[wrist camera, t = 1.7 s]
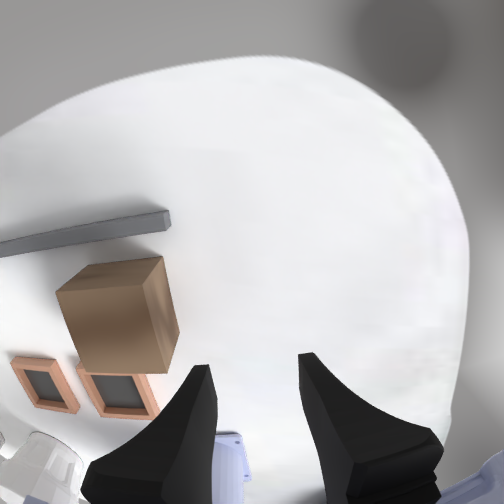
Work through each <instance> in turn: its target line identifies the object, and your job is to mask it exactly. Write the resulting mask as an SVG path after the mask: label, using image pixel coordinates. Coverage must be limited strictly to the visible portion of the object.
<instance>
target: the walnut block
mask: <svg viewBox="0 0 504 504" xmlns="http://www.w3.org/2000/svg"><path fill="white" fill-rule="evenodd" d="M56 296H57V299H58V302H59V305H60V308H61V311H62V313H63V316H64V319H65V322H66V325H67V327H68V330H69V333H70V335H71V338H72V340H73V343H74V345H75V348H76V350H77V352H78V355H79V357H80V359H81V362H82V364H83V366H84V369H85V371H86V372H91V373H119V374H163V373H168V369H169V366H170V363H171V359H172V356H173V353H174V350H175V346H176V343H177V340H178V337H179V333H180V332H179V328H178V323H177V319H176V315H175V311H174V306H173V302H172V298H171V293H170V288H169V284H168V279H167V274H166V269H165V264H164V259H163V256H162V257H153V258H145V259H136V260H127V261H119V262H110V263H102V264H93V265H88V266H86V267H85V268H84V269H83V270H81V271H80V272H79V273H78V274H76V275H75V276H74V277H73V278H71V279H70V280H69V281H68V282H67V283H65V284H64V285H63V286H62V287H61V288H59V289H58V290H57V291H56Z"/></svg>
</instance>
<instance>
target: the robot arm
mask: <svg viewBox="0 0 504 504" xmlns="http://www.w3.org/2000/svg"><path fill="white" fill-rule="evenodd" d="M298 364H299V390H300V395H301V400H302V405H303V410H304V413H305V416H306V419H307V422H308V425H309V428H310V431H311V434H312V437H313V440H314V443H315V446H316V449H317V452H318V456H319V460H320V465H321V470H322V475H323V480H324V485H325V491H326V496H327V502H328V504H504V449H503V450H502V451H500V452H499V453H497V454H495V455H494V456H492V457H491V458H489V459H488V460H487V461H486V462H485V463H484V464H483V466H482V467H481V468H480V470H479V471H478V472H477V473H475V474H473V475H471V476H470V477H468V478H466V479H464V480H462V481H460V482H458V483H456V484H454V485H452V486H450V487H448V488H446V489H444V490H442V491H439V489H438V487H437V485H436V484H435V481H436V480H437V477H436V475H435V473H434V469H435V468H436V466H437V464H438V463H439V461H440V459H441V457H442V455H443V452H444V448H443V446H442V444H441V442H440V441H439V439H438V438H437V436H436V435H435V434H434V433H433V432H432V430H431V429H430V428H427V427H423V426H419V425H416V424H412V423H409V422H406V421H404V420H401V419H399V418H396V417H394V416H392V415H389V414H387V413H385V412H383V411H382V410H380V409H378V408H376V407H374V406H372V405H371V404H369V403H368V402H366V401H365V400H363V399H362V398H360V397H359V396H358V395H356V394H355V393H354V392H352V391H351V390H350V389H349V388H347V387H346V386H345V385H344V384H343V383H342V382H341V381H340V380H339V379H338V378H336V377H335V376H334V375H333V374H332V373H331V372H330V371H329V370H328V368H327V367H326V366H325V365H324V364H323V363H322V362H321V361H320V360H319V358H318V357H317V356H316V355H315V354H314V353H313V352H311V353H304V354H298ZM217 419H218V407H217V395H216V391H215V387H214V383H213V379H212V375H211V371H210V367H209V364H207V365H195V366H194V367H193V368H192V369H191V371H190V373H189V374H188V376H187V377H186V379H185V381H184V382H183V384H182V385H181V387H180V388H179V389H178V391H177V392H176V394H175V395H174V396H173V398H172V399H171V400H170V402H169V403H168V404H167V405H166V406H165V408H164V409H163V410H162V411H161V412H160V414H159V415H158V416H157V417H156V418H155V419H154V420H153V421H152V422H151V423H150V424H149V425H148V426H147V427H146V428H144V429H143V430H142V431H141V432H140V433H138V434H137V435H136V436H135V437H133V438H132V439H131V440H129V441H128V442H127V443H125V444H124V445H122V446H120V447H119V448H117V449H116V450H114V451H112V452H110V453H109V454H107V455H105V456H103V457H101V458H99V459H97V460H95V461H92V462H91V463H90V465H89V467H88V469H87V472H86V475H85V478H84V481H83V483H82V486H81V489H80V490H81V493H82V495H83V496H84V497H85V498H86V500H87V501H88V502H90V503H91V504H244V487H243V482H245V481H251V480H252V476H251V472H250V469H249V465H248V461H247V456H246V452H245V448H244V444H243V440H242V436H241V435H239V434H228V435H216V427H217ZM23 504H49V503H47V502H45V501H43V500H40V499H37V498H35V497H32V496H30V495H26V498H25V500H24V502H23Z"/></svg>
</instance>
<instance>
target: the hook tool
mask: <svg viewBox="0 0 504 504" xmlns="http://www.w3.org/2000/svg"><path fill="white" fill-rule="evenodd" d="M170 226H171V221H170V215H169V211H162V212H155V213H149V214H143V215H137V216H131V217H125V218H119V219H113V220H107V221H102V222H96V223H91V224H86V225H80V226H75V227H70V228H65V229H60V230H55V231H50V232H45V233H41V234H36V235H31V236H27V237H22V238H18V239H13V240H9V241H5V242H1V243H0V258H2V257H8V256H13V255H18V254H24V253H29V252H35V251H40V250H46V249H52V248H58V247H64V246H70V245H76V244H82V243H88V242H94V241H100V240H107V239H113V238H120V237H126V236H133V235H140V234H147V233H154V232H161V231H166V230H167V229H168V228H169V227H170Z"/></svg>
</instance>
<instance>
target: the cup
mask: <svg viewBox="0 0 504 504" xmlns="http://www.w3.org/2000/svg"><path fill="white" fill-rule="evenodd" d="M83 468H84V467H83V462H82V461H81V459H80V458H79V456H78V455H77V454H76V453H75V452H74V451H72V450H71V449H70V448H69V447H67V446H66V445H65V444H63V443H62V442H60V441H59V440H57V439H55V438H53V437H51V436H49V435H46V434H43V433H40V432H34V433H32V434H31V435H30V436H29V438H28V440H27V441H26V443H25V444H24V445H23V446H22V447H21V448H20V449H19V450H18V451H17V452H16V454H15V455H14V456H13V457H12V458H11V459H8V460H3V461H2V463H1V464H0V498H1V499H3V500H4V501H5V502H6V503H8V504H23V502H24V500H25V498H26V495H30V496H32V497H35V498H37V499H40V500H43V501H45V502H47V503H49V504H79V502H78V498H79V489H80V481H81V474H82V471H83Z"/></svg>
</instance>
